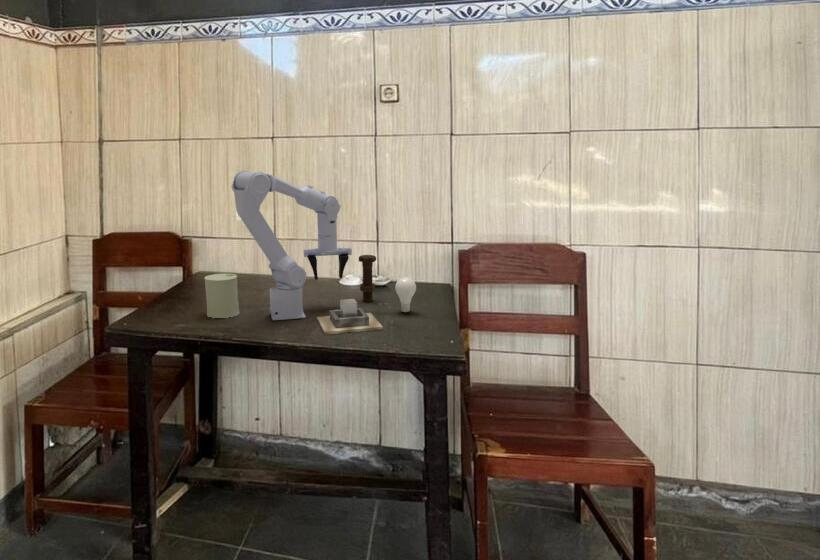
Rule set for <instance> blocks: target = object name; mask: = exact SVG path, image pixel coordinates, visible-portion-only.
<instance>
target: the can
mask: <svg viewBox="0 0 820 560" xmlns="http://www.w3.org/2000/svg"><path fill="white" fill-rule="evenodd" d="M204 285H205V286H204V287H205V298H206V316H207V318H209V317H212V318H211V319H214V318H225V319H230V318H229V317H231V318H233V317H234V316H235V317H237V316H239V315H240V307H239V293H238V275H237V274H235V273H234V274H233V273H214V274H209V275H205V276H204ZM238 314H239V315H238Z"/></svg>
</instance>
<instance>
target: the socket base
mask: <svg viewBox="0 0 820 560" xmlns="http://www.w3.org/2000/svg"><path fill="white" fill-rule="evenodd" d="M316 320H317V322H318V324H319V326H320V328H321V330H322V331H323V334H324V335H325V336H327V335H339V334H349V333H348V332H350V333H357V332H360V333H361V332H371V331H382V329H384V327H383V325H382V324H381V323H380V322H379V321H378V319H376V317H375V316H374V315H373V314H372V312H365V310H364V309H363V308H362V307H357V317H347V318H340V309H329V315H325V316H317V317H316Z"/></svg>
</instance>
